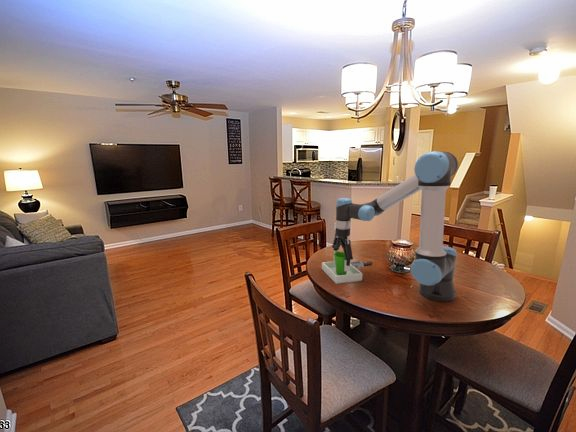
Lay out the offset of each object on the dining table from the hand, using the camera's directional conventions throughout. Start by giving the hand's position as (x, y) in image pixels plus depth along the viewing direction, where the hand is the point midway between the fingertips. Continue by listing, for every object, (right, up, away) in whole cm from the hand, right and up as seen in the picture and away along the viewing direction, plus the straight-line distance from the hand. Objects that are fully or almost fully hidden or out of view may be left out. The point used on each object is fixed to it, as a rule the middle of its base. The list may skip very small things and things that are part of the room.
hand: (341, 266), depth 152 cm
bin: (0, -5, +1) cm, 5 cm away
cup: (0, -4, +1) cm, 5 cm away
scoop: (+15, -2, +14) cm, 20 cm away
